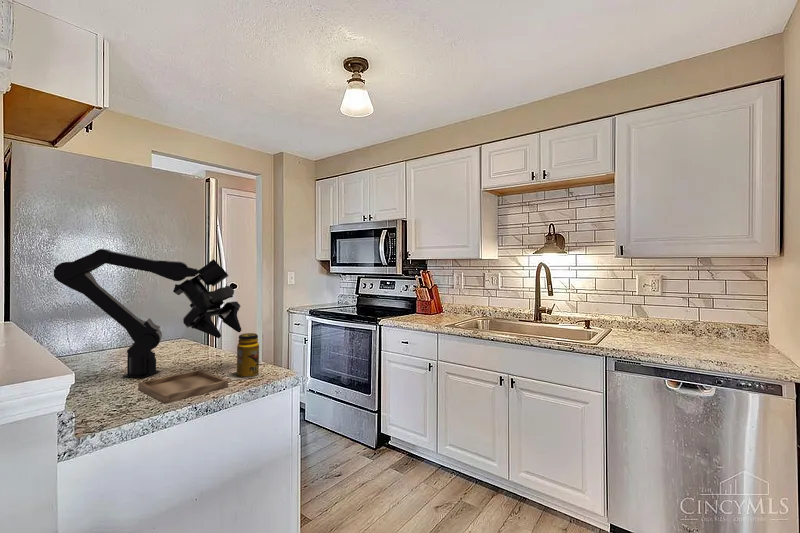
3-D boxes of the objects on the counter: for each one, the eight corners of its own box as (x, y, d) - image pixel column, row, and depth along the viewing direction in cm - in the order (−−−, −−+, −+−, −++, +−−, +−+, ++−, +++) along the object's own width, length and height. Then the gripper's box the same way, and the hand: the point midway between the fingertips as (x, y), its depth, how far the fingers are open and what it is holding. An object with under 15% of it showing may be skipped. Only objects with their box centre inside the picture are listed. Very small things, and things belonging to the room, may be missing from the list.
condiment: (262, 376, 114) (263, 335, 114) (231, 380, 109) (232, 338, 109) (256, 370, 120) (257, 331, 120) (226, 374, 115) (227, 333, 115)
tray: (164, 403, 92) (164, 396, 91) (138, 389, 101) (138, 382, 101) (228, 386, 104) (228, 380, 104) (199, 375, 113) (199, 369, 113)
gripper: (192, 278, 108) (226, 320, 105) (235, 276, 126) (265, 312, 124) (168, 306, 110) (201, 347, 107) (214, 299, 128) (243, 335, 125)
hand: (230, 334), depth 116 cm, fingers open, 9 cm apart
